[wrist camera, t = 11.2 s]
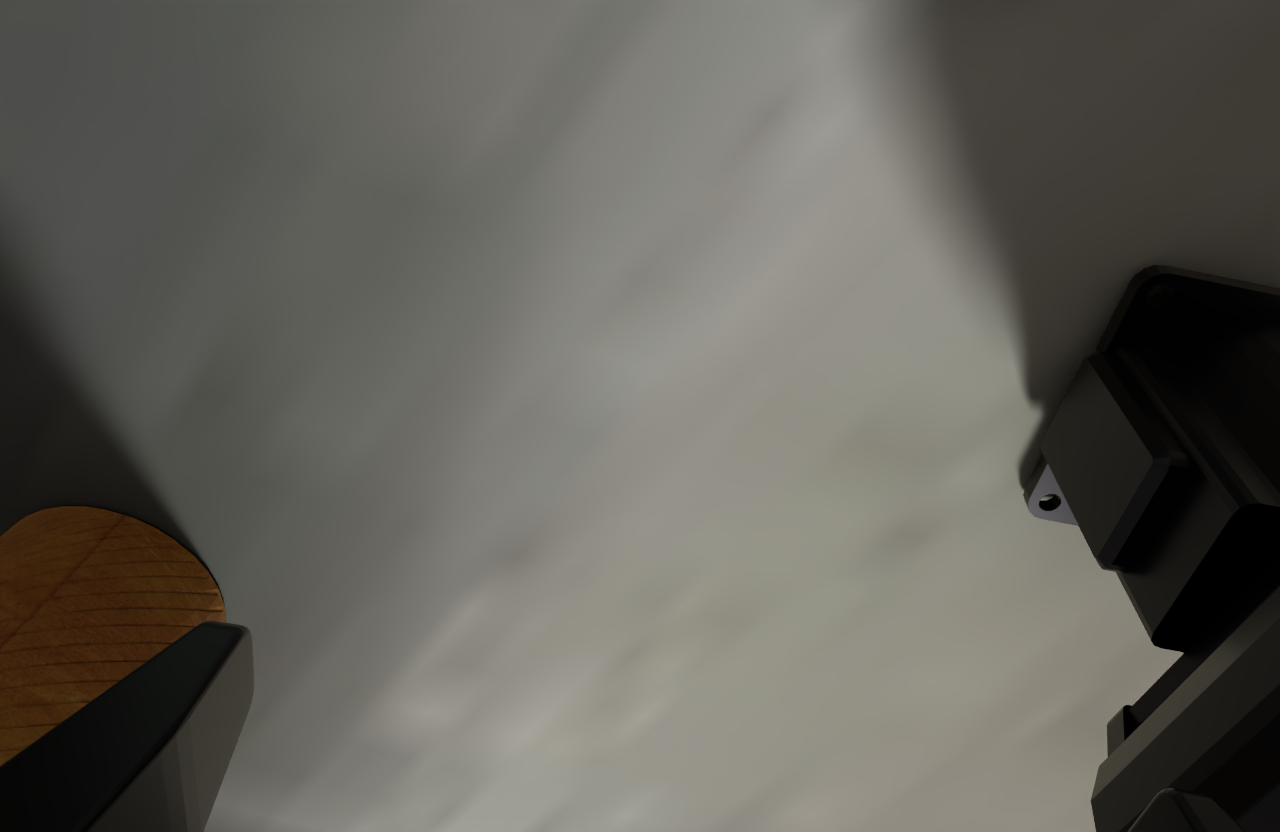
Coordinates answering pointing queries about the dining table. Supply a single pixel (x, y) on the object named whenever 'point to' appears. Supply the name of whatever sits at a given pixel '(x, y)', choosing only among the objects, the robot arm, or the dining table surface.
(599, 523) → the dining table surface
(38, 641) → the disposable coffee cup
